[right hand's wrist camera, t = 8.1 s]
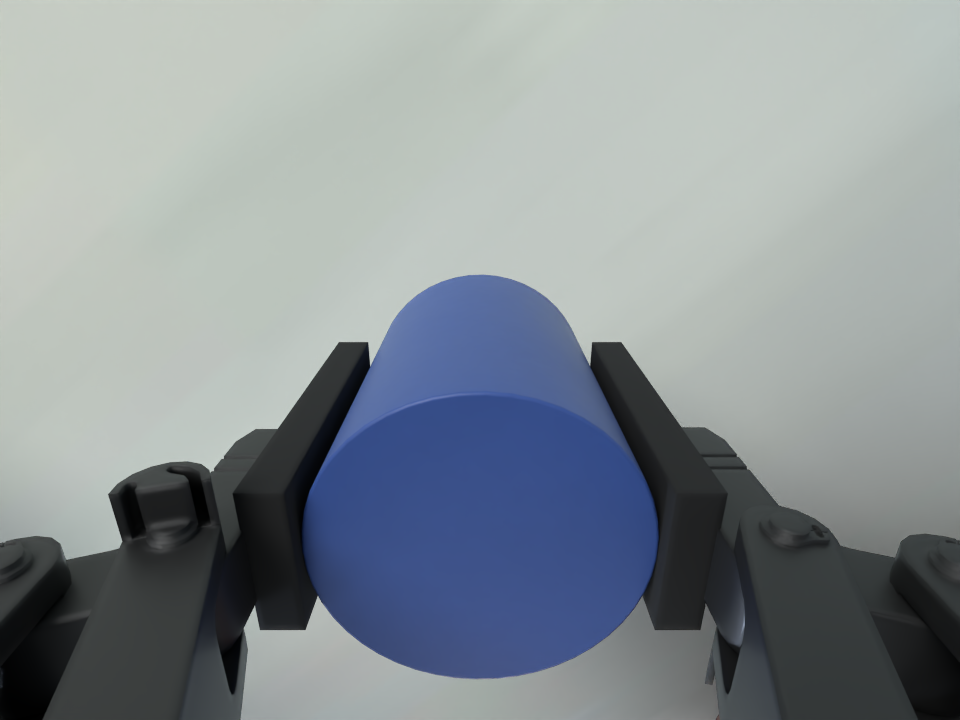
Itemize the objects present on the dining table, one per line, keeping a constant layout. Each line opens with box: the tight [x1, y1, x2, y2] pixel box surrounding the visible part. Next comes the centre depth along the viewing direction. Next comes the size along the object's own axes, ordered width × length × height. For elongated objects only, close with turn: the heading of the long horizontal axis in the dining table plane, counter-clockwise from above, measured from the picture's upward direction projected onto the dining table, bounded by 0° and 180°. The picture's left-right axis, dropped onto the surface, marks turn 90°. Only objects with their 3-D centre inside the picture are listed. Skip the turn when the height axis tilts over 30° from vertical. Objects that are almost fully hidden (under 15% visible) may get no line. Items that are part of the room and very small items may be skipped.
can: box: [301, 275, 659, 679], centre depth 12 cm, size 6×6×8 cm
